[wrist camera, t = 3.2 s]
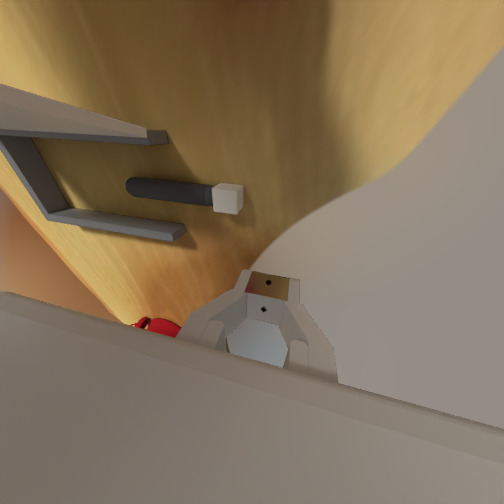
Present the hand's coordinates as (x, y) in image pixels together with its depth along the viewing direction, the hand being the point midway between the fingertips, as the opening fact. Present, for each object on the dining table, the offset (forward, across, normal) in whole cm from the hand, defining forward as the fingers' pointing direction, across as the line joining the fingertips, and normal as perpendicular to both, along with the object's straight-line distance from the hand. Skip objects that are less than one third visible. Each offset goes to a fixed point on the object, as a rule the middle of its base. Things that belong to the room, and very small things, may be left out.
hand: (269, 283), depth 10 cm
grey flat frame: (+14, +25, 0) cm, 29 cm away
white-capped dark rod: (+14, +13, 0) cm, 19 cm away
